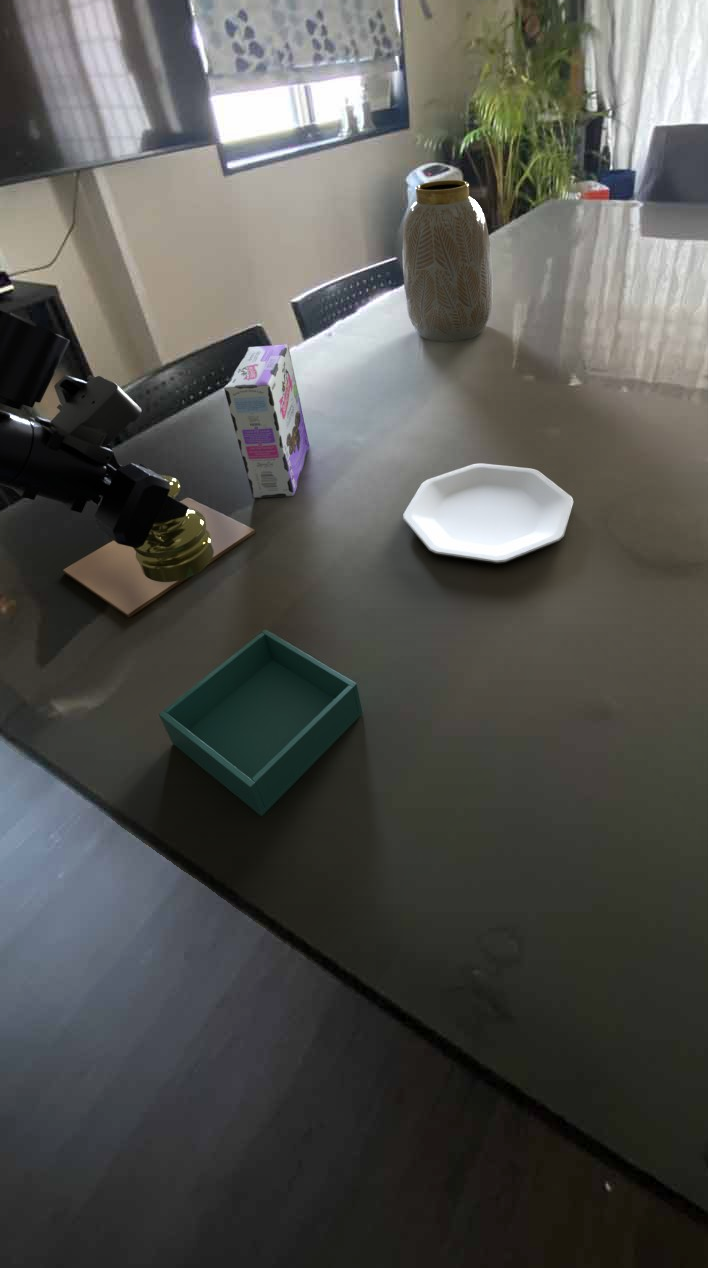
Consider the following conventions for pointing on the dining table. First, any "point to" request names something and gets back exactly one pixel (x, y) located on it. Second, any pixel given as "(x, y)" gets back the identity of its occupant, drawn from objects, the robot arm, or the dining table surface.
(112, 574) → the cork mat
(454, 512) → the plate
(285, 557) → the dining table surface
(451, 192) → the vase
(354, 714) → the storage box
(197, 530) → the brass door knob
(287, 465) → the candy box
